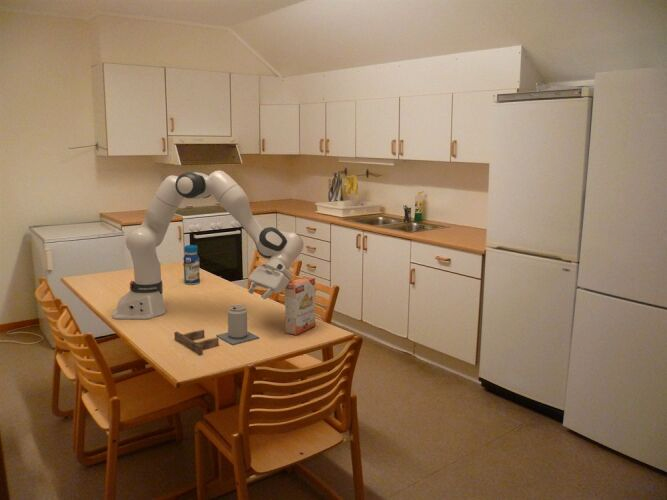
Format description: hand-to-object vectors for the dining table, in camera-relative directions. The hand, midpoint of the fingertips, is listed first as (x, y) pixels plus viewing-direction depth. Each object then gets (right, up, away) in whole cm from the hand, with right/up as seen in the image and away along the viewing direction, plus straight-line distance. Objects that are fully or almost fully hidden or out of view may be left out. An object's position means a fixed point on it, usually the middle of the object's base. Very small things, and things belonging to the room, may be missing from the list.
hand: (256, 295), depth 225 cm
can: (-7, -16, -3) cm, 18 cm away
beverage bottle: (-44, 0, +75) cm, 87 cm away
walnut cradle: (-20, -18, -10) cm, 28 cm away
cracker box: (+17, -15, +7) cm, 24 cm away
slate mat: (-7, -16, -3) cm, 18 cm away
